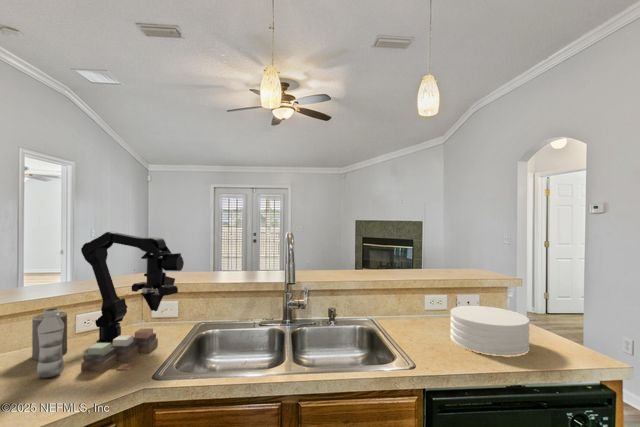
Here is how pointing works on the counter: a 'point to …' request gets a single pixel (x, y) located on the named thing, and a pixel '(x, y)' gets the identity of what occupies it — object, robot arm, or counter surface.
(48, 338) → the plastic bottle
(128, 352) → the button panel
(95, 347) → the sage button
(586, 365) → the counter surface
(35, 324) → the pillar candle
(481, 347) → the plate stack
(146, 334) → the terracotta button
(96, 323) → the robot arm
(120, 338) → the cream button
